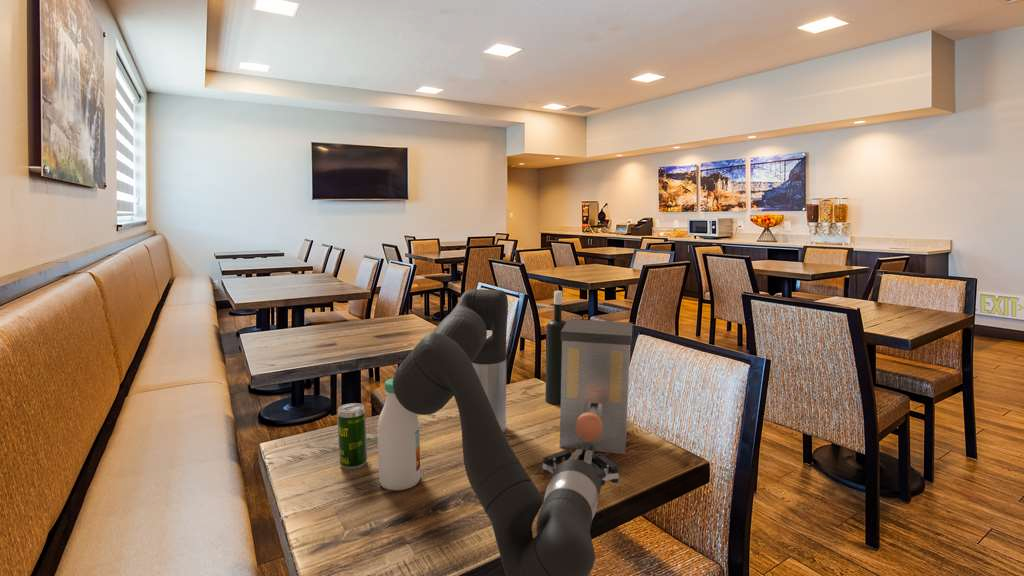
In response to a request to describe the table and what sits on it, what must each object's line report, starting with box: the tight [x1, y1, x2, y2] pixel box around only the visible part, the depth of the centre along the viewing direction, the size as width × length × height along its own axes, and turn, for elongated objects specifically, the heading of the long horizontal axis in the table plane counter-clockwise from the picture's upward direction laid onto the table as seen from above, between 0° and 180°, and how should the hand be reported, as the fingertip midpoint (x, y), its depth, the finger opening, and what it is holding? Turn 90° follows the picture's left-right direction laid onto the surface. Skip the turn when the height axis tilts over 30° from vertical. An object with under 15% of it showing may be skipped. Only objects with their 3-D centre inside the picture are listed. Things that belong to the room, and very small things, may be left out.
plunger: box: [575, 403, 603, 441], centre depth 113 cm, size 14×5×5 cm, turn 166°
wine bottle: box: [544, 290, 567, 405], centre depth 143 cm, size 6×6×30 cm
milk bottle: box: [377, 377, 421, 492], centre depth 102 cm, size 8×8×20 cm
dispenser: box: [559, 318, 633, 455], centre depth 120 cm, size 13×15×26 cm
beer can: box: [336, 402, 368, 471], centre depth 109 cm, size 5×5×12 cm
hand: (587, 447), depth 96 cm, fingers closed
